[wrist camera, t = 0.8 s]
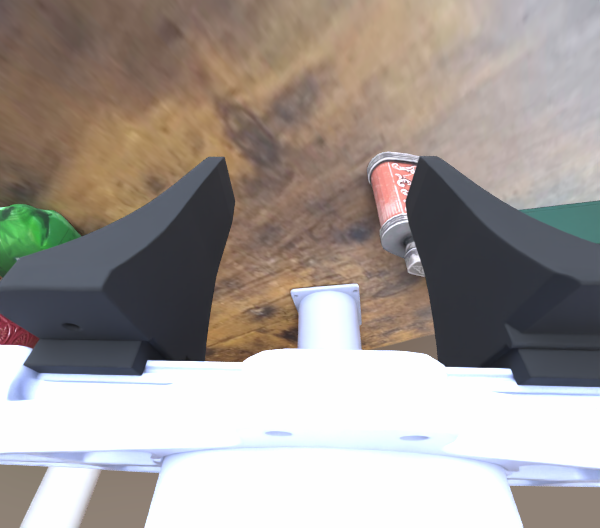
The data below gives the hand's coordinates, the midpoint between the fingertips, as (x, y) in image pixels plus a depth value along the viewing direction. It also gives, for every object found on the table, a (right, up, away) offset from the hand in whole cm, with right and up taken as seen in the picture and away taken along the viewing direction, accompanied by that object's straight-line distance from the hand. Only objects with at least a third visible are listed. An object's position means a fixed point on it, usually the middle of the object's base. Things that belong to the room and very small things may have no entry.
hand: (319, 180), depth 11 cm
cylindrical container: (-35, -22, +45) cm, 61 cm away
